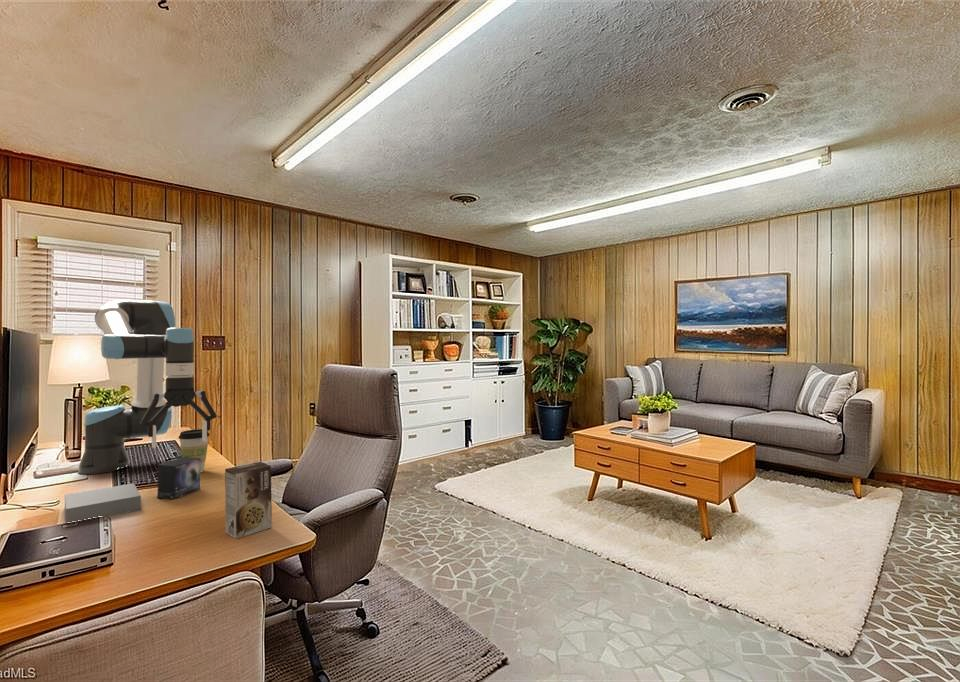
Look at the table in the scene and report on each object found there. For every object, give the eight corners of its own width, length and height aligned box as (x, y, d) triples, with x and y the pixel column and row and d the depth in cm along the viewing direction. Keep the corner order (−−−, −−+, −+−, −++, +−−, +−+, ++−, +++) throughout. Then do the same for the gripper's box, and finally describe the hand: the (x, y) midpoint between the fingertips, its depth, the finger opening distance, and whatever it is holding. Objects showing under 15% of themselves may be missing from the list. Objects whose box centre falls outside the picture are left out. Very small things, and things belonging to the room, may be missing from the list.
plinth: (64, 508, 134) (64, 494, 134) (133, 496, 145) (133, 483, 145) (65, 524, 122) (66, 509, 122) (140, 509, 133) (140, 495, 133)
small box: (174, 500, 141) (174, 465, 141) (156, 498, 143) (156, 464, 143) (201, 489, 152) (201, 457, 152) (184, 488, 153) (184, 456, 153)
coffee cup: (184, 477, 165) (184, 435, 166) (173, 472, 171) (173, 431, 172) (214, 471, 173) (214, 430, 173) (202, 467, 179) (202, 428, 179)
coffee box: (260, 522, 124) (260, 461, 124) (272, 528, 119) (272, 464, 120) (224, 532, 116) (224, 468, 117) (235, 539, 112) (235, 472, 112)
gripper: (132, 379, 136) (132, 452, 136) (226, 375, 153) (226, 440, 153) (129, 378, 142) (129, 448, 141) (220, 374, 159) (220, 437, 158)
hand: (180, 444), depth 147 cm, fingers open, 13 cm apart
